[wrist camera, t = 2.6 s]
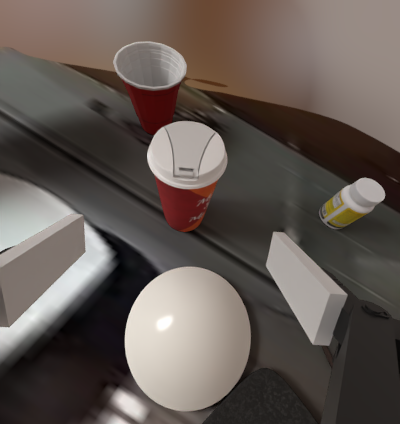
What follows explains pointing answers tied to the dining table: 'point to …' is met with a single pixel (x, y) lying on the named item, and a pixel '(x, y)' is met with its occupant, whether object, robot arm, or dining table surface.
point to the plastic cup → (151, 81)
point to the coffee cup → (186, 170)
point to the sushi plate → (263, 401)
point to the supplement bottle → (351, 203)
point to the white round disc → (187, 339)
